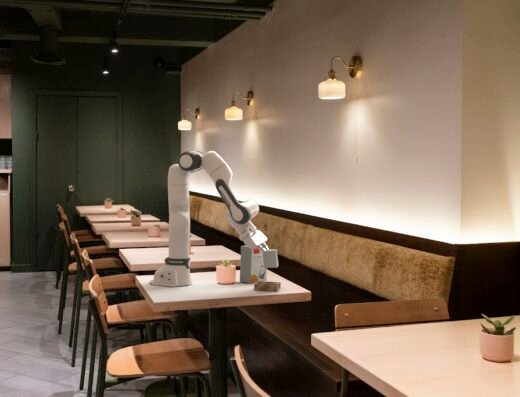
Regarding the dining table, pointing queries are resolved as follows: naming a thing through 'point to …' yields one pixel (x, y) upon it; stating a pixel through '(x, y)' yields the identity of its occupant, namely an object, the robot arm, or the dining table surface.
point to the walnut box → (267, 286)
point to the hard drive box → (252, 265)
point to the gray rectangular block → (270, 258)
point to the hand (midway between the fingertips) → (266, 251)
